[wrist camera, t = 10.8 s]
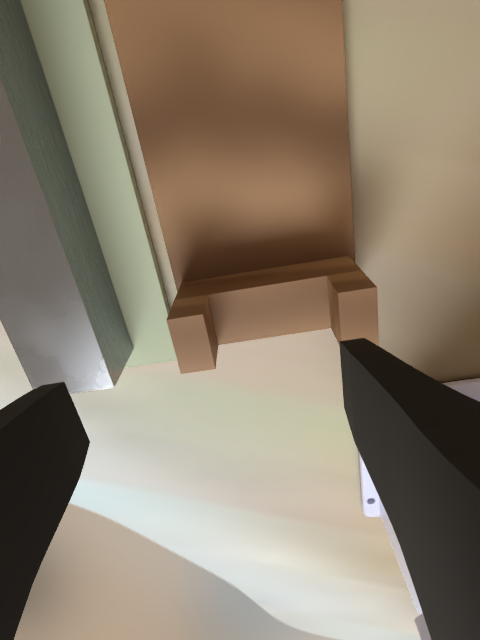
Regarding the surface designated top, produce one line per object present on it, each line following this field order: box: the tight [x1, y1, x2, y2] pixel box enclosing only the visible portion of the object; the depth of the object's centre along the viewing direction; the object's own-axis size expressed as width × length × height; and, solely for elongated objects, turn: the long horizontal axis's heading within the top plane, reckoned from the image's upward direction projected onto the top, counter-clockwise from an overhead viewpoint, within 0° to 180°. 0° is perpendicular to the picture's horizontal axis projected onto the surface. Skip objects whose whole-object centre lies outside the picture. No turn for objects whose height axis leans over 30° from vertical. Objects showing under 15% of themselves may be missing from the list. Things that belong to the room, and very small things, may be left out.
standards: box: [104, 0, 378, 374], centre depth 14 cm, size 18×8×5 cm, turn 10°
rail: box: [0, 0, 134, 394], centre depth 15 cm, size 18×4×4 cm, turn 10°
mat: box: [21, 0, 177, 368], centre depth 17 cm, size 20×8×1 cm, turn 10°
